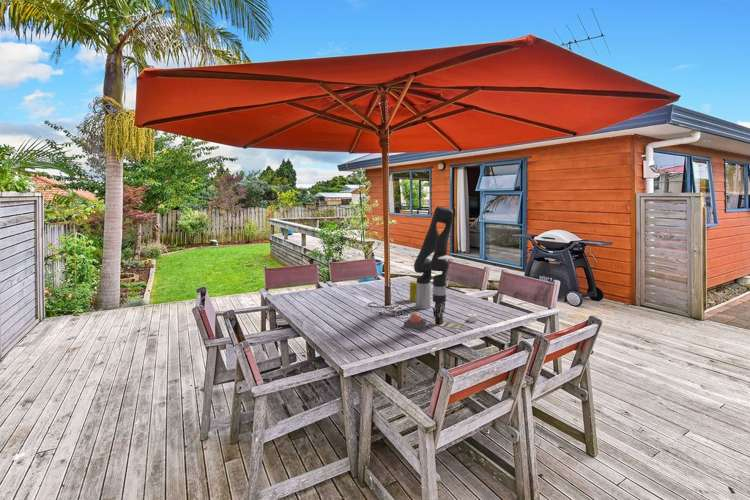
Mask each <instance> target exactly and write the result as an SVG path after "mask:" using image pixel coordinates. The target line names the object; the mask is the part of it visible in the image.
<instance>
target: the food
mask: <svg viewBox="0 0 750 500" xmlns="http://www.w3.org/2000/svg"><path fill="white" fill-rule="evenodd" d="M416 293H417V280H411V281H410V283H409V301H410V302H415V303H416Z"/></svg>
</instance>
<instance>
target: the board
mask: <svg viewBox="0 0 750 500" xmlns="http://www.w3.org/2000/svg"><path fill="white" fill-rule="evenodd" d="M428 325H429V326H433V327H441V328H446V329H447V328H448V329H451V330H452V329H454V330H460V329H462V328H463V327H464V326H465V324H463V323H457V322H450V321H444V320H443V324H441V325H438V324H435V319H434V320H433V321H432V322H430V323H429V324H428Z"/></svg>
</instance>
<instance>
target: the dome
mask: <svg viewBox="0 0 750 500" xmlns="http://www.w3.org/2000/svg"><path fill="white" fill-rule="evenodd" d="M409 318H410V322H414V323H420V322H421V319H422V318H421V315H420V314H419V313H418V312H413V313H412V314H410V316H409Z"/></svg>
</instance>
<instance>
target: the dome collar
mask: <svg viewBox="0 0 750 500" xmlns="http://www.w3.org/2000/svg"><path fill="white" fill-rule="evenodd" d="M425 326H427V319H426V318H421V322H420V323H414V322H410V317H409V318H408V319H406V320H404V321H403V327H405V328H409V329H415V330H421V329H422V328H424V327H425Z"/></svg>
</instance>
